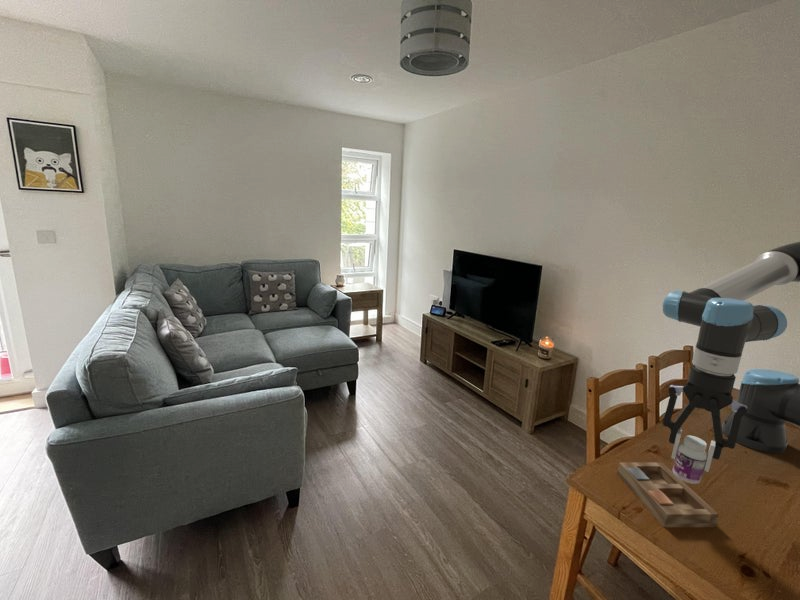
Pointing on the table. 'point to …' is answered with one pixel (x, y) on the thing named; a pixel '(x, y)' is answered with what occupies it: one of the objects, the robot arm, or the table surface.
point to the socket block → (666, 495)
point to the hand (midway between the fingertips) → (689, 462)
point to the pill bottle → (690, 460)
